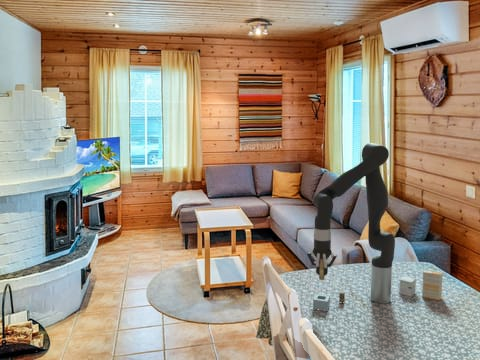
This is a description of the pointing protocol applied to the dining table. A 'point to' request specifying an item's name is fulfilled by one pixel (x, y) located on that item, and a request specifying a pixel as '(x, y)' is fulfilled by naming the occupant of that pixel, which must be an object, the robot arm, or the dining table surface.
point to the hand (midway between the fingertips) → (321, 274)
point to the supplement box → (432, 284)
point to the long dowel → (321, 269)
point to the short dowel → (341, 297)
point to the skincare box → (407, 286)
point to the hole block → (321, 302)
